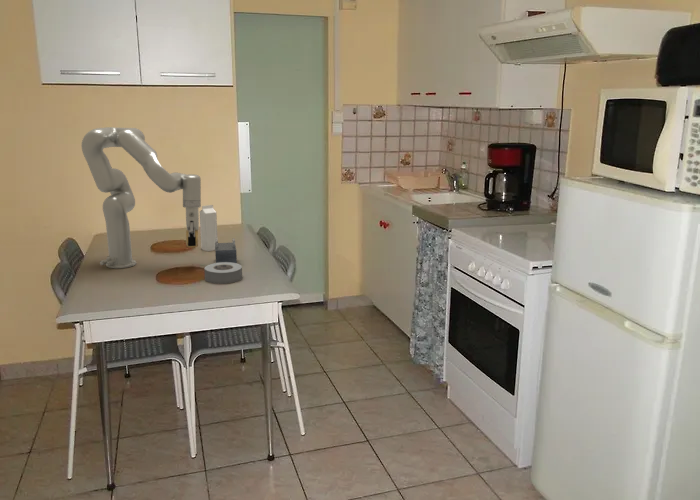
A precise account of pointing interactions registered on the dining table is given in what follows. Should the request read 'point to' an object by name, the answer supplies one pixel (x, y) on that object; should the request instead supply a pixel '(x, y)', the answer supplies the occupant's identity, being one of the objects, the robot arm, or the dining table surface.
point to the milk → (208, 228)
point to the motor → (225, 252)
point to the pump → (188, 236)
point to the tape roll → (223, 272)
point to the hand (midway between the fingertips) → (192, 243)
